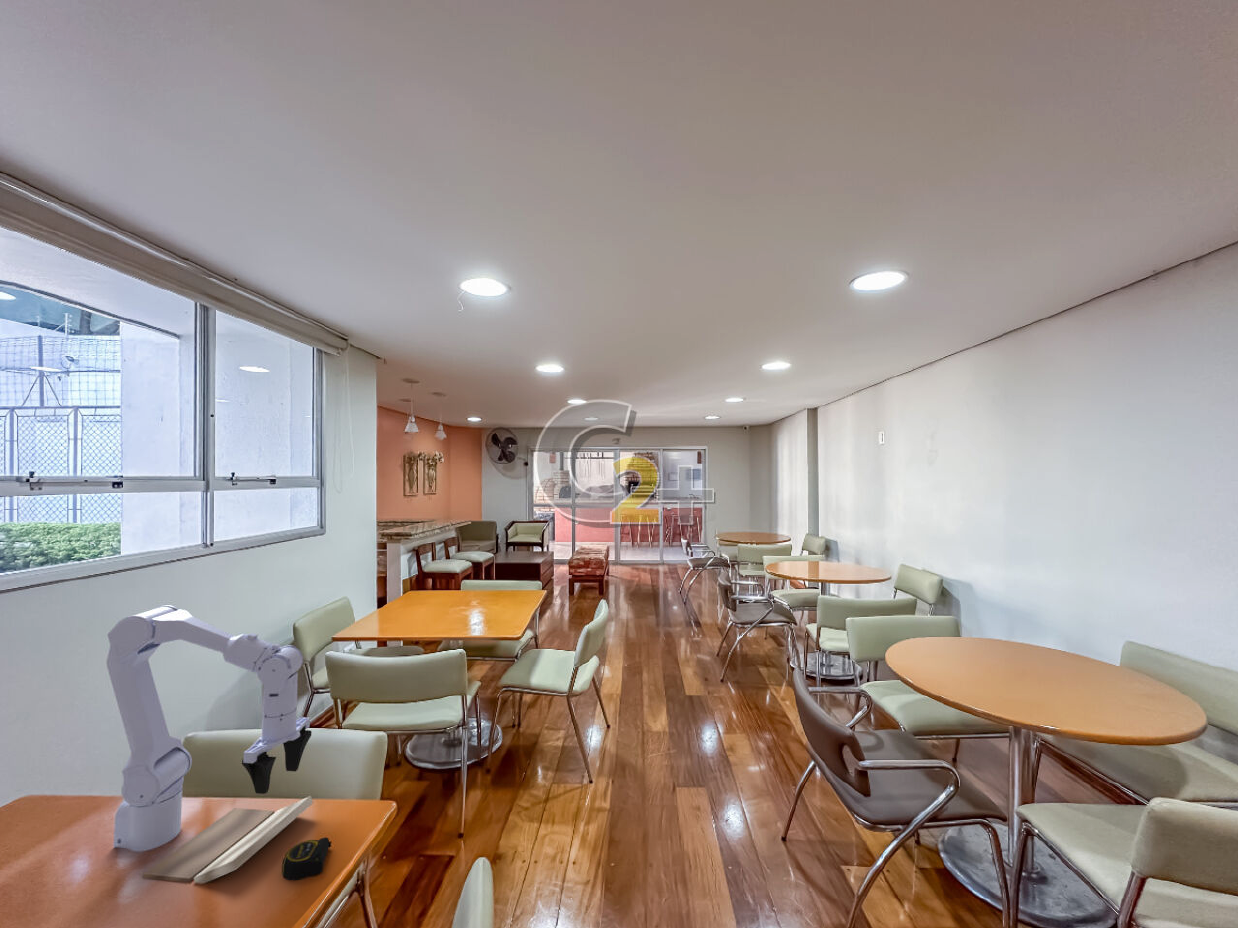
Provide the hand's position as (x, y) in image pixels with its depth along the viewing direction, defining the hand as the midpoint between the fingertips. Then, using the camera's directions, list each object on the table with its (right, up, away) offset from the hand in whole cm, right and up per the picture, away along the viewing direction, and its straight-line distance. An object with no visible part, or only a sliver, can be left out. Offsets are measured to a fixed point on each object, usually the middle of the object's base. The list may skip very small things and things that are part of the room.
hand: (277, 780), depth 100 cm
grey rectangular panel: (-8, -9, -6) cm, 13 cm away
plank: (+1, -7, -6) cm, 10 cm away
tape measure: (+13, -9, -11) cm, 19 cm away
